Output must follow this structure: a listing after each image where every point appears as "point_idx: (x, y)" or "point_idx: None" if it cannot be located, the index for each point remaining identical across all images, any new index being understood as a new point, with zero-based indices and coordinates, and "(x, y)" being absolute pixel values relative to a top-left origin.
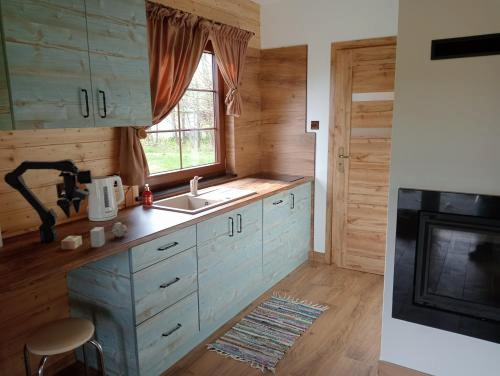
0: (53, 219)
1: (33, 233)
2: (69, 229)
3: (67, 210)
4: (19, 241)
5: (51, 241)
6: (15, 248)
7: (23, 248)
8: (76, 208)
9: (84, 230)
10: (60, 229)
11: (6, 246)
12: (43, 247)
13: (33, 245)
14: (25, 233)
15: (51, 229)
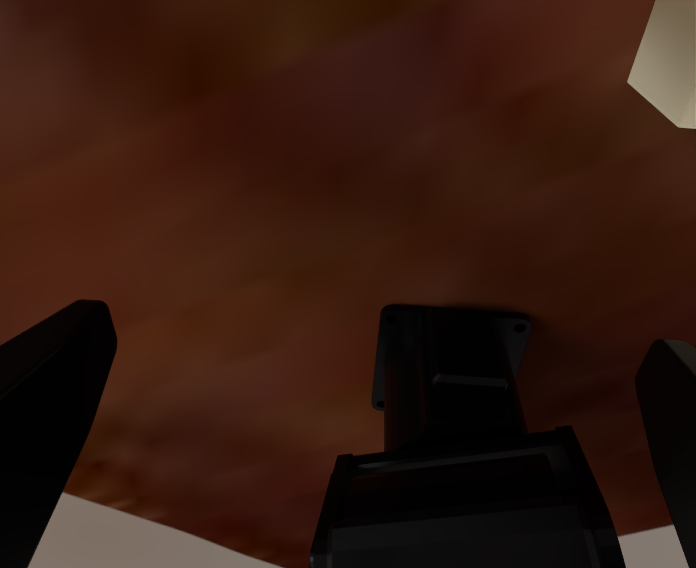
0: (595, 554)
1: (225, 509)
2: (41, 305)
3: None
4: None
5: (525, 321)
6: (613, 496)
7: (637, 455)
8: (41, 450)
9: (15, 112)
10: None
11: None
12: (677, 328)
13: (571, 420)
14: (231, 544)
15: (509, 429)
